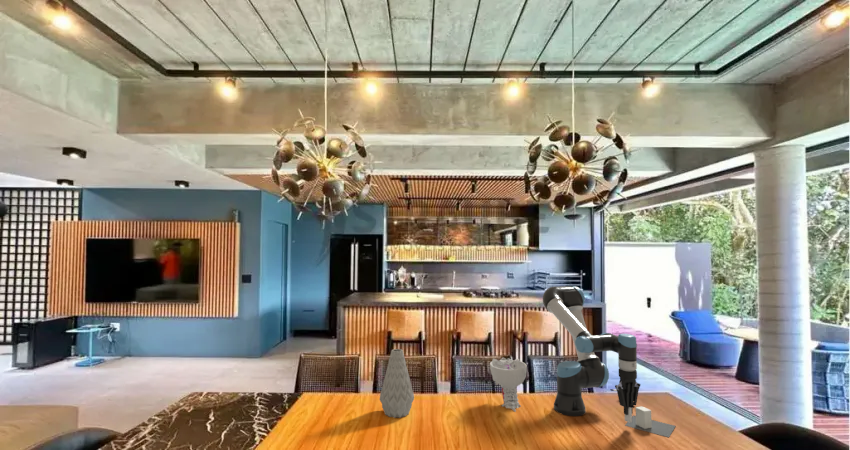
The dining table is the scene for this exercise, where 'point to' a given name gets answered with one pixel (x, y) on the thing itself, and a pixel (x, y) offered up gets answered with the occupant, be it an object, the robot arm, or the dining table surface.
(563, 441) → the dining table surface
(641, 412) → the white block
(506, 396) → the grey stone goblet
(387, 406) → the vase
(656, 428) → the mat
